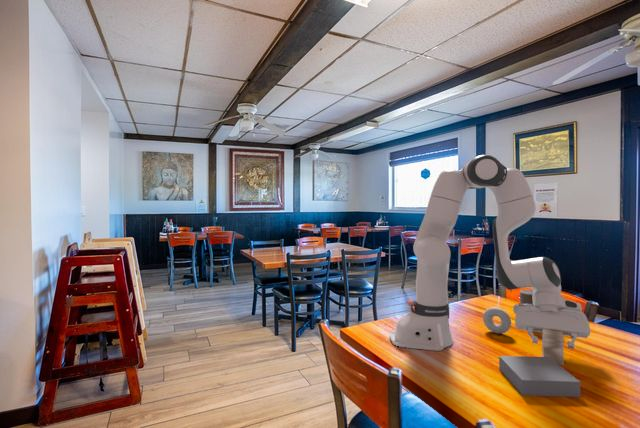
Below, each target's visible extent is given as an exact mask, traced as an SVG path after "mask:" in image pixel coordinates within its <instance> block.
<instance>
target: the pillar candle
mask: <svg viewBox="0 0 640 428" xmlns="http://www.w3.org/2000/svg"><path fill="white" fill-rule="evenodd" d="M532 295H533V290H532V289H522V290H520V291H519V303H522V304H533V299H532Z"/></svg>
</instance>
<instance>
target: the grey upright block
mask: <svg viewBox="0 0 640 428" xmlns="http://www.w3.org/2000/svg"><path fill="white" fill-rule="evenodd" d="M541 345H542V346H541V349H542V351H541V352H542V353H541V355H542V356H541V357H549V358H550V359H552V360H553V361H554V362H556V363H557V364H558V365H560V366H561V365H562V366H563V365H565V363H564V361H565V356H564V353H565V349H564V347H565V346H564V335H563V334H562V332H561V331H557V330H549V329H542V332H541Z"/></svg>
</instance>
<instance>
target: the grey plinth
mask: <svg viewBox="0 0 640 428" xmlns="http://www.w3.org/2000/svg"><path fill="white" fill-rule="evenodd" d="M498 364H499V365H498V369H499V370H500V372H501V373H502V374H503V375H504V377H506V379H508V381H509V382H510V383H511V384H512V385H513V386H514V388H516V390H517V391H518V392H519V393H520V394H521V396H532V397H534V396H535V397H536V396H537V397H538V396H539V397H561V398H563V397H567V398H581V381H580V380H579V379H577V378H576V377H575V376H574V375H572V374H570V372H569V371H567V370H566V369H565V368H564V367H562V366H561V365H560V364H557V363H556V362H554V361H553V360H552V359H550V358H549V357H543V356H525V355H524V356H523V355H522V356H521V355H520V356H517V355H498Z"/></svg>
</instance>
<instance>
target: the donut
mask: <svg viewBox="0 0 640 428" xmlns="http://www.w3.org/2000/svg"><path fill="white" fill-rule="evenodd" d="M494 317H498V319H500V323H499V324H497V323H495V322H494V321H493V318H494ZM511 319H512V318H511V316H510V315H509V313H507V311H505V310H504V309H502V308H500V307H497V306H496V307H495V306H494V307H493V306H492V307H488V308H487V309H486V310H485V311H484V312H483V315H482V320H483V321H482V322H483V323H484V326H485V327H486V328H487V329H488V330H489V331H490V332H492V333H495V334H498V335H499V334H505V333H507V332H509V331H510V329H511V327H512V320H511Z"/></svg>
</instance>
